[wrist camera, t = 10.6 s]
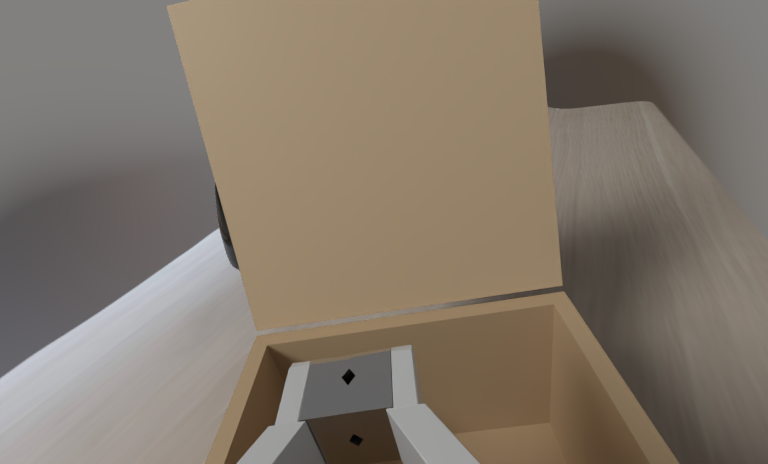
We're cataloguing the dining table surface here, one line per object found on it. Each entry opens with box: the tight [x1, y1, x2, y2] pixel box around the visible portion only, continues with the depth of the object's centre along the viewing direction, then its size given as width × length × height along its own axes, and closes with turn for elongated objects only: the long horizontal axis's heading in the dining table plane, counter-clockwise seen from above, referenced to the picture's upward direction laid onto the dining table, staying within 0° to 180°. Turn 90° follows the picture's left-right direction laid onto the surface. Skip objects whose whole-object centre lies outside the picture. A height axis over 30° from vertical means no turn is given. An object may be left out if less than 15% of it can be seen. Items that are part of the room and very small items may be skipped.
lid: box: [167, 0, 563, 331], centre depth 18 cm, size 16×16×1 cm
